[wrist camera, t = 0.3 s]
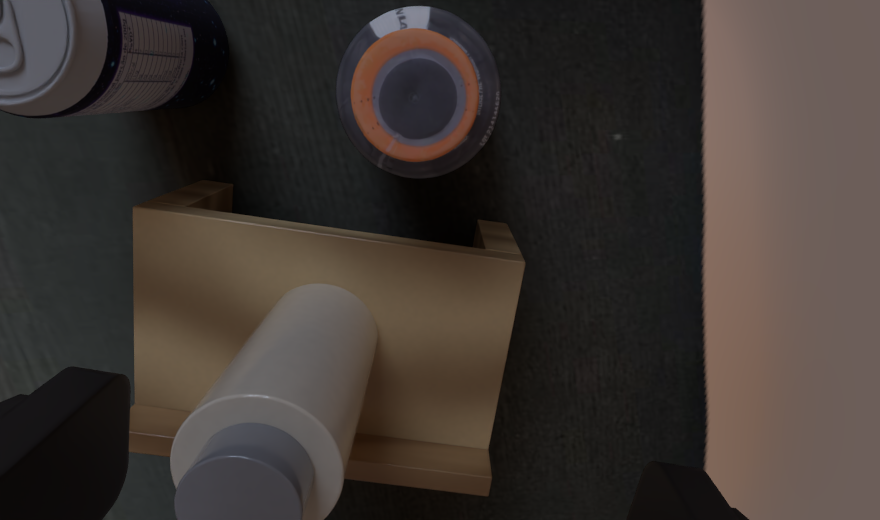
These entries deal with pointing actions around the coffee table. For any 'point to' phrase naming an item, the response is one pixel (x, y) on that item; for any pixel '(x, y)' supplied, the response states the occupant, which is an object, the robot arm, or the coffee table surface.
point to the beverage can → (108, 55)
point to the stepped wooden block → (367, 277)
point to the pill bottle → (418, 92)
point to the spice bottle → (280, 414)
